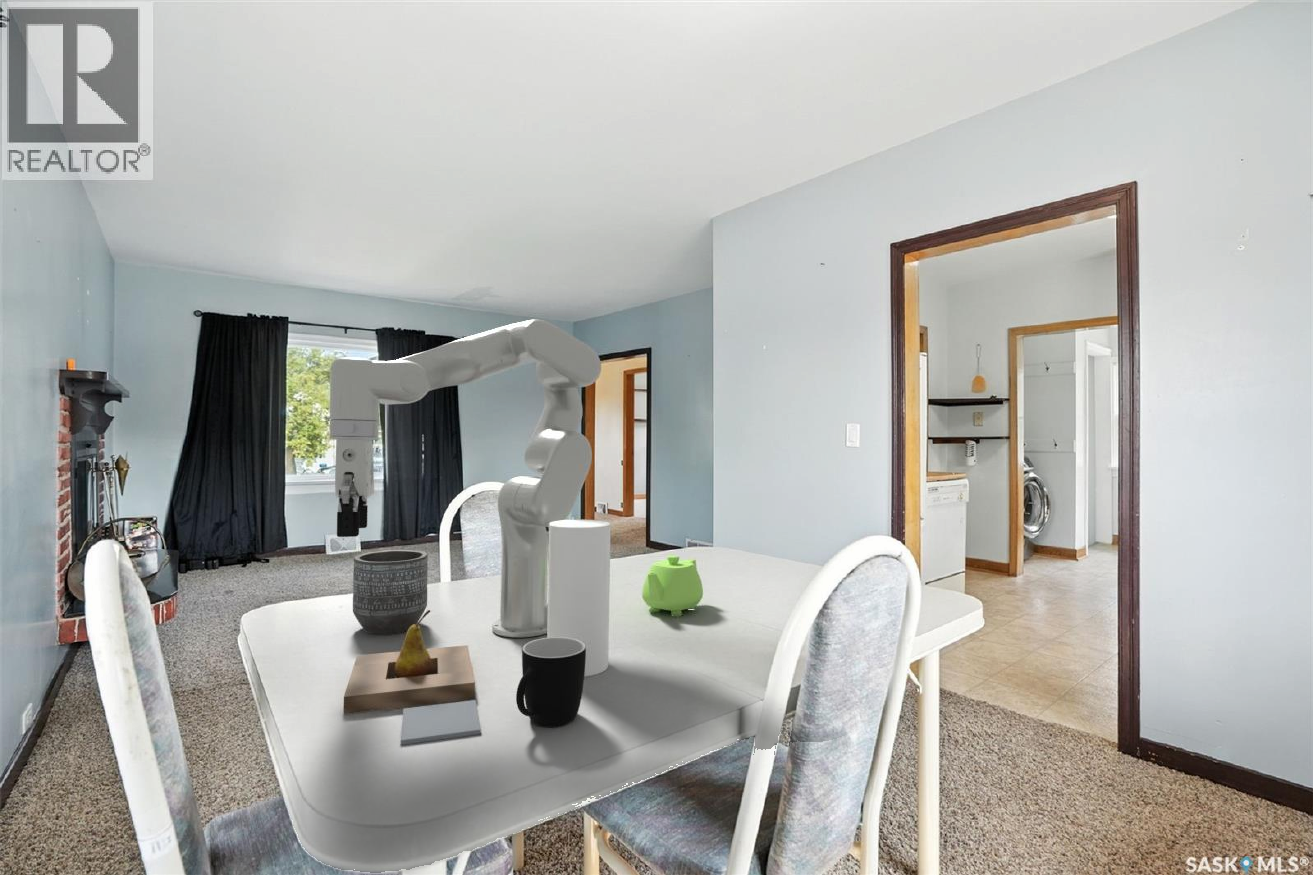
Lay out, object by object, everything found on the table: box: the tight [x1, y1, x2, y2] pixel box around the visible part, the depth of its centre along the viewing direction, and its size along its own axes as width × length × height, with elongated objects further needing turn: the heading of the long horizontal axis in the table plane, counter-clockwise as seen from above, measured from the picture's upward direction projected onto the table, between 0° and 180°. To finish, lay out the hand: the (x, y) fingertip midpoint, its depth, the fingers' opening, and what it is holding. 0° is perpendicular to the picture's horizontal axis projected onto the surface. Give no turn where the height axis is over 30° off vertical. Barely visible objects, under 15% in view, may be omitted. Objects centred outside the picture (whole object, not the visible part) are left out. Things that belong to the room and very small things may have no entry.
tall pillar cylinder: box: [546, 518, 612, 678], centre depth 111 cm, size 11×11×25 cm
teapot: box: [641, 555, 704, 617], centre depth 148 cm, size 20×13×13 cm
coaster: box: [400, 699, 482, 746], centre depth 88 cm, size 10×10×1 cm
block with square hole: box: [343, 644, 476, 715], centre depth 102 cm, size 18×18×2 cm
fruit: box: [395, 609, 432, 678], centre depth 102 cm, size 6×6×12 cm
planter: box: [352, 549, 429, 636], centre depth 131 cm, size 14×14×15 cm
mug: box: [515, 637, 586, 728], centre depth 89 cm, size 12×9×10 cm
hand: (352, 532), depth 108 cm, fingers open, 9 cm apart
